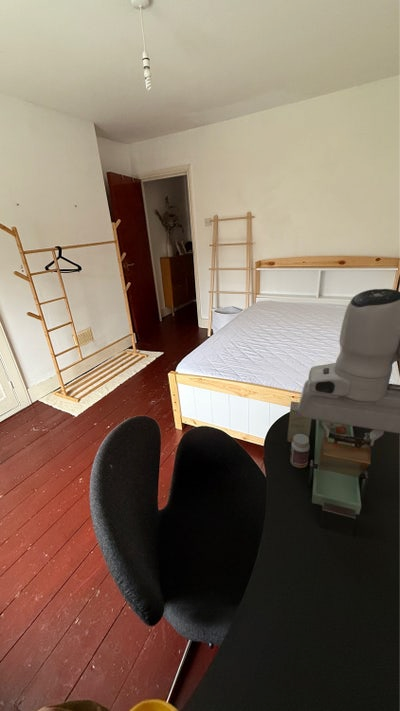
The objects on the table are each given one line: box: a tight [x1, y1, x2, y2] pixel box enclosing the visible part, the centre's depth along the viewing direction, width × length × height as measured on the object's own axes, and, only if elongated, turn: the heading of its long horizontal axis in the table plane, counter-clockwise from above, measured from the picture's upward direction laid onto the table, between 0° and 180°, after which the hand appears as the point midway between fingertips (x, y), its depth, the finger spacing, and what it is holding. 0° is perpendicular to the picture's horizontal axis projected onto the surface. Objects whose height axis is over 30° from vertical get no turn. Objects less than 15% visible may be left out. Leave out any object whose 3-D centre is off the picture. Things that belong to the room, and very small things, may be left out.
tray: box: [311, 420, 362, 516], centre depth 82 cm, size 32×10×3 cm, turn 159°
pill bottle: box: [289, 434, 311, 469], centre depth 81 cm, size 5×5×8 cm
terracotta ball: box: [335, 425, 347, 435], centre depth 90 cm, size 3×3×3 cm
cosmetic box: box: [286, 400, 313, 443], centre depth 88 cm, size 6×4×12 cm
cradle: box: [307, 459, 369, 537], centre depth 68 cm, size 12×12×7 cm
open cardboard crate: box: [319, 430, 372, 478], centre depth 65 cm, size 17×9×6 cm
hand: (348, 439), depth 60 cm, fingers closed on open cardboard crate, 6 cm apart
